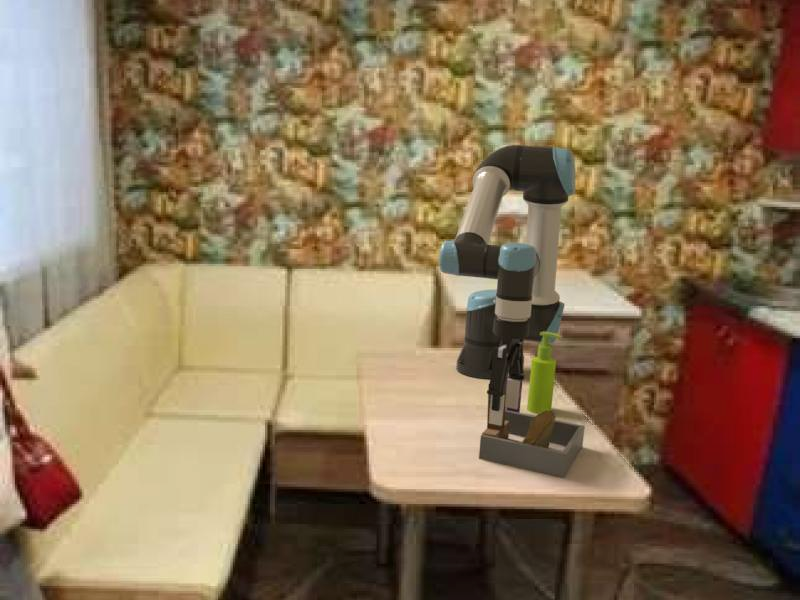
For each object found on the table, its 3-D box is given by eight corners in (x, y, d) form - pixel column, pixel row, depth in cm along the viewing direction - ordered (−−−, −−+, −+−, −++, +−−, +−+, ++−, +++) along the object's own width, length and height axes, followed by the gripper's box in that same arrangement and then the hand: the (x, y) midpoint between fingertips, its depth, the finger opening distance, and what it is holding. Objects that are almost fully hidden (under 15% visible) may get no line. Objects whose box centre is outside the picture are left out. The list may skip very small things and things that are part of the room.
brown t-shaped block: (495, 435, 179) (497, 376, 176) (508, 437, 177) (510, 377, 175) (481, 451, 170) (483, 388, 167) (494, 453, 168) (497, 390, 166)
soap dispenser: (549, 417, 192) (557, 337, 188) (523, 410, 196) (530, 332, 191) (558, 410, 197) (566, 333, 193) (532, 404, 200) (539, 328, 196)
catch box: (504, 430, 182) (506, 410, 181) (582, 447, 175) (584, 425, 174) (478, 458, 166) (480, 435, 165) (563, 477, 159) (566, 454, 158)
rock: (528, 458, 161) (568, 446, 165) (513, 419, 164) (553, 407, 168) (506, 470, 171) (545, 458, 175) (493, 432, 173) (531, 421, 177)
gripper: (510, 304, 179) (502, 397, 183) (477, 325, 158) (469, 429, 162) (543, 309, 176) (534, 403, 180) (513, 331, 155) (504, 436, 160)
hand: (503, 415), depth 171 cm, fingers open, 11 cm apart
